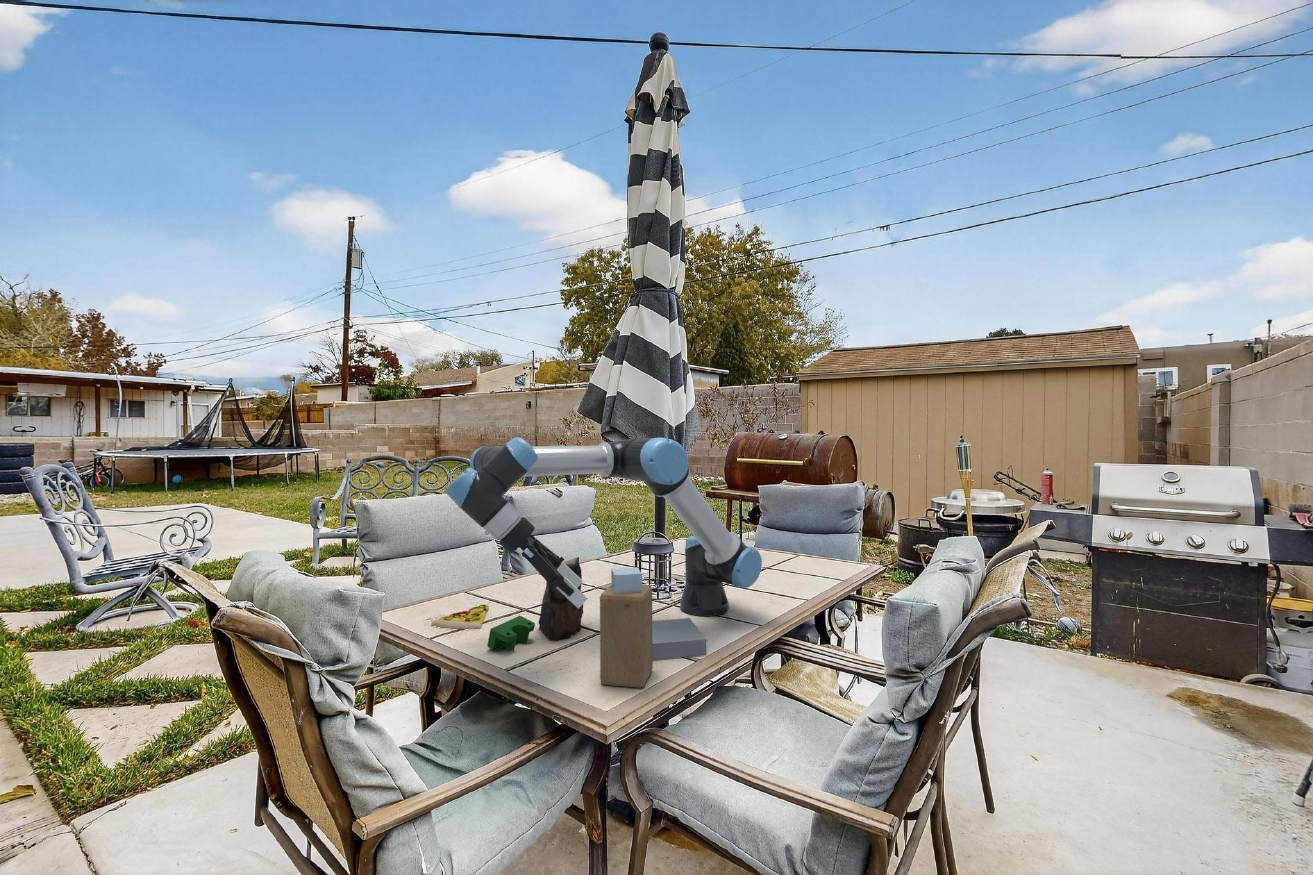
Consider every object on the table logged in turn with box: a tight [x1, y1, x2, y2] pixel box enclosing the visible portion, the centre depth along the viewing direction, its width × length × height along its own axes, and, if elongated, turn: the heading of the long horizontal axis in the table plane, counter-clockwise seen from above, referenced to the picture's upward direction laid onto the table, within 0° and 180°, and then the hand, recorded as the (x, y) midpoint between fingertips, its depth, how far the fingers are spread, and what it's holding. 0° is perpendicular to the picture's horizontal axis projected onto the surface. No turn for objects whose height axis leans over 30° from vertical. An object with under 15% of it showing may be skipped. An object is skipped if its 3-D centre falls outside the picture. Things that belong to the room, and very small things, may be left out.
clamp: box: [487, 615, 536, 652], centre depth 141 cm, size 12×6×9 cm, turn 148°
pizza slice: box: [430, 604, 490, 630], centre depth 162 cm, size 16×21×3 cm
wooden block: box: [599, 584, 654, 689], centre depth 121 cm, size 10×10×20 cm
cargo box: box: [610, 566, 643, 594], centre depth 121 cm, size 6×6×4 cm
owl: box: [538, 556, 584, 642], centre depth 149 cm, size 13×13×20 cm
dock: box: [652, 617, 707, 661], centre depth 139 cm, size 18×16×4 cm
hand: (581, 594), depth 119 cm, fingers open, 13 cm apart
